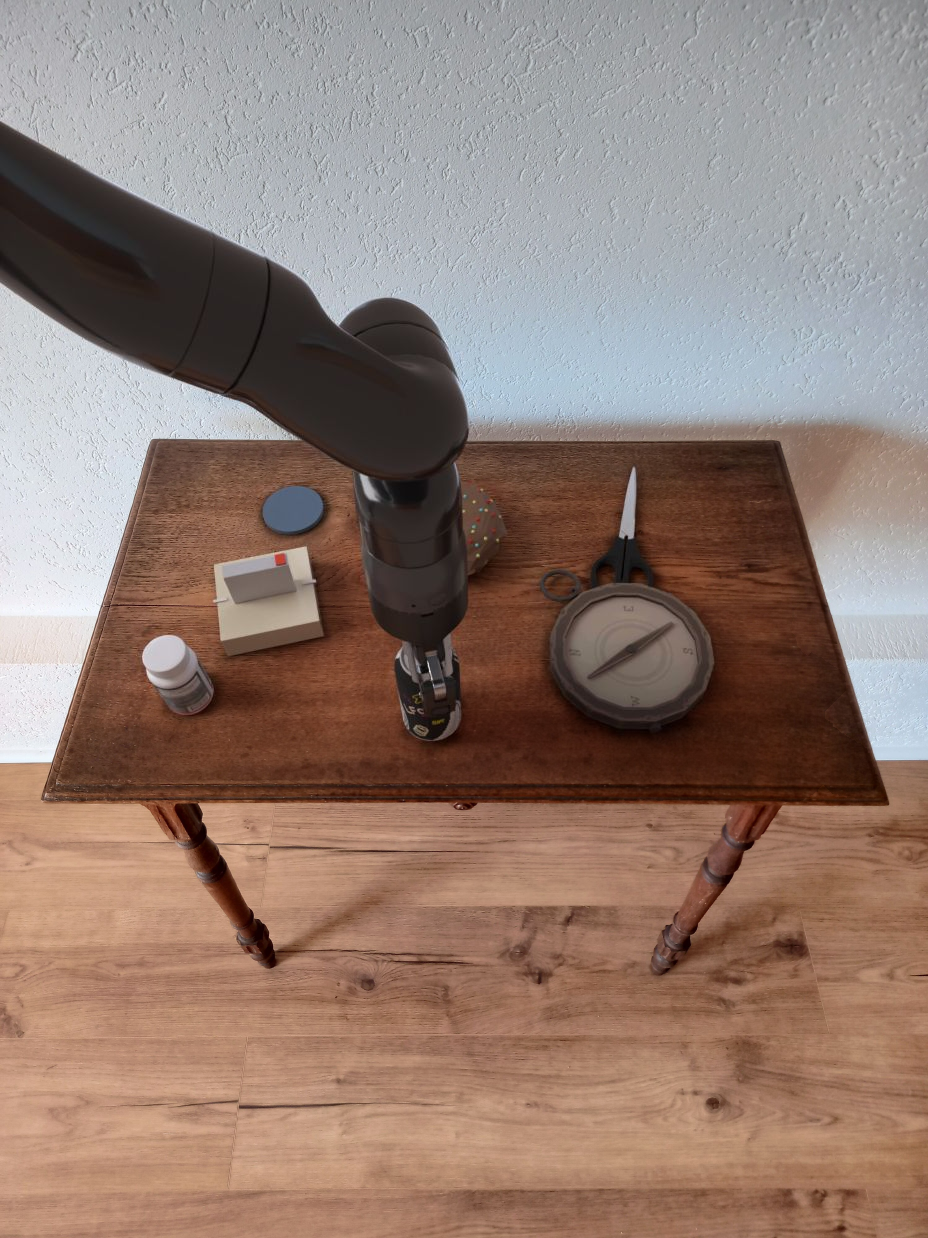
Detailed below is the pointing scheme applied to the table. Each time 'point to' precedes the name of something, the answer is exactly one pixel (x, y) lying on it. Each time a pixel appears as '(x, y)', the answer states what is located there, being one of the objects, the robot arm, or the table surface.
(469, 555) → the donut
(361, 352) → the robot arm
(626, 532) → the scissors
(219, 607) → the base
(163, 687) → the pill bottle
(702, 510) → the table surface
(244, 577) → the tap handle
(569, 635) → the compass
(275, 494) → the coaster
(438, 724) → the beverage can
